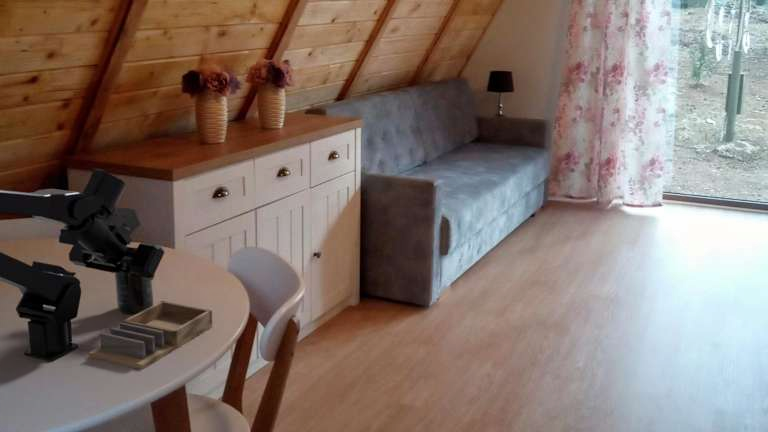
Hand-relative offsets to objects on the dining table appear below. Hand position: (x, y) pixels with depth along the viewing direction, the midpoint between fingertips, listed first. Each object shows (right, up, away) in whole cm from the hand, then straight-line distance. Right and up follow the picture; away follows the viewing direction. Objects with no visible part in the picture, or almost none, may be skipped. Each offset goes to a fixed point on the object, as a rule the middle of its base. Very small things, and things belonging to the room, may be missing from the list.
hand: (138, 275), depth 163 cm
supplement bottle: (-1, -7, 0) cm, 7 cm away
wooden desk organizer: (+7, -11, -14) cm, 19 cm away
